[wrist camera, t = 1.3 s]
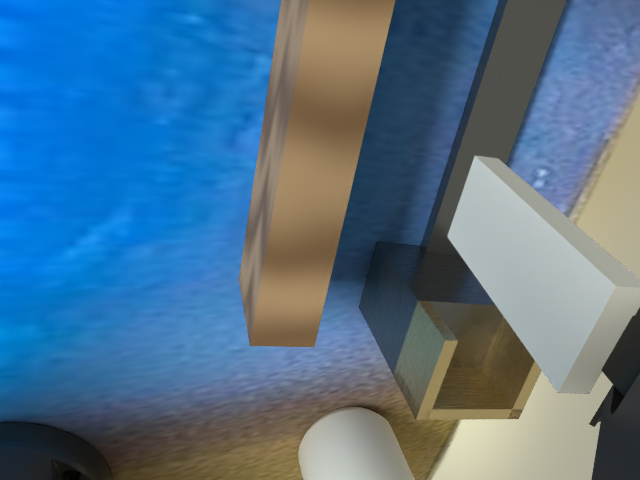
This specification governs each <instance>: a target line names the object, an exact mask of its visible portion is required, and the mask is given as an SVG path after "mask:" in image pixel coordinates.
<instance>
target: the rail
mask: <svg viewBox="0 0 640 480" xmlns="http://www.w3.org/2000/svg"><path fill="white" fill-rule="evenodd" d="M394 5H395V0H281V6H280V12H279V19H278V25H277V32H276V39H275V45H274V52H273V58H272V65H271V71H270V78H269V85H268V91H267V98H266V104H265V111H264V117H263V124H262V131H261V137H260V144H259V150H258V157H257V163H256V170H255V177H254V183H253V190H252V196H251V203H250V209H249V216H248V223H247V229H246V236H245V242H244V249H243V255H242V262H241V269H240V275H239V283H240V289H241V295H242V301H243V307H244V313H245V319H246V325H247V331H248V337H249V343H250V346H287V347H314V346H315V342H316V338H317V333H318V329H319V325H320V320H321V316H322V312H323V308H324V303H325V299H326V295H327V291H328V286H329V282H330V278H331V274H332V269H333V265H334V261H335V256H336V252H337V248H338V244H339V239H340V235H341V231H342V227H343V222H344V218H345V214H346V210H347V205H348V201H349V197H350V192H351V188H352V184H353V180H354V175H355V171H356V167H357V163H358V158H359V154H360V150H361V145H362V141H363V137H364V133H365V128H366V124H367V120H368V116H369V111H370V107H371V103H372V99H373V94H374V90H375V86H376V81H377V77H378V73H379V69H380V64H381V60H382V56H383V52H384V47H385V43H386V39H387V35H388V30H389V26H390V22H391V17H392V13H393V9H394Z"/></svg>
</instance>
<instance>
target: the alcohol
mask: <svg viewBox="0 0 640 480" xmlns="http://www.w3.org/2000/svg"><path fill="white" fill-rule="evenodd" d="M298 458H299V464H300V468H301V473H302V477H303V480H415V479H414V477H413V475H412V473H411V470H410V468H409V466H408V464H407V461H406V459H405V457H404V455H403V452H402V450H401V448H400V446H399V443H398V441H397V439H396V437H395V434H394V432H393V430H392V428H391V426H390V424H389V423H388V421H387V420H386V419H385V418H384V417H382V416H381V415H379V414H377V413H375V412H373V411H371V410H369V409H366V408H362V407H344V408H340V409H336V410H334V411H331V412H328V413H327V414H325V415H323V416H321V417H320V418H319V419H317V420H316V421H315V422H314V423H313V424H312V425H311V426H310V427H309V428H308V430H307V432H306V433H305V435H304V437H303V439H302V441H301V444H300V447H299V451H298Z"/></svg>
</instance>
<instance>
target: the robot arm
mask: <svg viewBox="0 0 640 480" xmlns="http://www.w3.org/2000/svg"><path fill="white" fill-rule="evenodd" d="M447 237H448V238H449V240H450V241H451V243H452V244H453V246H454V247H455V248H456V250H457V251H458V253H459V254H460V255H461V257H462V258H463V260H464V261H465V263H466V264H467V265H468V267H469V268H470V270H471V271H472V272H473V274H474V275H475V277H476V278H477V279H478V281H479V282H480V284H481V285H482V287H483V288H484V289H485V291H486V292H487V294H488V295H489V296H490V298H491V299H492V301H493V302H494V303H495V305H496V306H497V308H498V309H499V311H500V312H501V313H502V315H503V316H504V318H505V319H506V320H507V322H508V323H509V325H510V326H511V327H512V329H513V330H514V332H515V333H516V335H517V336H518V337H519V339H520V340H521V342H522V343H523V344H524V346H525V347H526V349H527V350H528V351H529V353H530V354H531V356H532V357H533V359H534V360H535V361H536V363H537V364H538V366H539V367H540V368H541V370H542V371H543V373H544V374H545V375H546V377H547V378H548V380H549V381H550V383H551V384H552V385H553V387H554V388H555V389H556V391H557V392H558V393H584V394H586V393H587V394H589V393H590V391H591V389H592V388H593V386H594V384H595V383H596V381H597V379H598V377H599V376H600V374H601V372H602V371H603V373H604V374H605V375H606V376H607V377H608V379H609V380H610V381H611V382H612V383H613V386H612V387H611V389H610V391H609V392H608V394H607V396H606V397H605V399H604V400H603V402H602V404H601V405H600V407H599V409H598V410H597V412H596V414H595V415H594V417H593V419H592V420H591V422H590V425H592V426H596V424H597V423H598V422H600V421H601V424H600V430H599V437H598V444H597V449H596V455H595V462H594V468H593V474H592V480H640V279H638V278H637V277H636V276H635V275H634V274H633V273H631V272H630V271H629V270H628V269H627V268H626V267H624V266H623V265H622V264H621V263H620V262H618V261H617V260H616V259H615V258H614V257H612V255H610V254H609V253H608V252H607V251H606V250H605V249H603V248H602V247H601V246H600V245H599V244H598V243H596V242H595V241H594V240H593V239H592V238H591V237H589V236H588V235H587V234H586V233H585V232H584V231H582V230H581V229H580V228H579V227H578V226H577V225H575V224H574V223H573V222H572V221H571V220H570V219H568V218H567V217H566V216H565V215H564V214H563V213H561V212H560V211H559V210H558V209H557V208H556V207H554V206H553V205H552V204H551V203H550V202H549V201H547V200H546V199H545V198H544V197H543V196H542V195H540V194H539V193H538V192H537V191H536V190H535V189H533V188H532V187H531V186H530V185H529V184H528V183H526V182H525V181H524V180H523V179H522V178H521V177H519V176H518V175H517V174H516V173H515V172H514V171H512V170H511V169H510V168H509V167H508V166H507V165H505V164H504V163H503V162H502V161H501V160H499V159H498V158H491V157H483V156H474V159H473V162H472V165H471V168H470V171H469V174H468V177H467V180H466V183H465V186H464V189H463V192H462V195H461V197H460V200H459V203H458V206H457V209H456V212H455V215H454V218H453V221H452V224H451V227H450V230H449V233H448V236H447ZM0 480H113V478H112V474H111V471H110V469H109V466H108V465H107V463H106V461H105V460H104V459H103V457H102V456H101V455H100V454H99V453H98V452H97V451H96V450H95V449H94V448H93V447H91V446H90V445H89V444H87V443H86V442H84V441H83V440H81V439H79V438H77V437H75V436H73V435H71V434H69V433H66V432H64V431H61V430H58V429H55V428H51V427H47V426H42V425H36V424H28V423H0Z"/></svg>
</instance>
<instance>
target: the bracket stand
mask: <svg viewBox="0 0 640 480" xmlns="http://www.w3.org/2000/svg"><path fill="white" fill-rule="evenodd" d="M565 3H566V0H499V2H498V5H497V8H496V12H495V15H494V18H493V21H492V24H491V27H490V30H489V34H488V37H487V40H486V43H485V46H484V49H483V52H482V55H481V59H480V62H479V65H478V68H477V71H476V74H475V77H474V81H473V84H472V87H471V90H470V93H469V96H468V99H467V102H466V106H465V109H464V112H463V115H462V118H461V121H460V124H459V127H458V131H457V134H456V137H455V140H454V143H453V146H452V149H451V153H450V156H449V159H448V162H447V165H446V168H445V171H444V174H443V178H442V181H441V184H440V187H439V190H438V193H437V196H436V200H435V203H434V206H433V209H432V212H431V215H430V218H429V221H428V225H427V228H426V231H425V234H424V237H423V240H422V243H421V246H414V245H403V244H393V243H382V242H377V245H376V248H375V252H374V255H373V259H372V262H371V266H370V269H369V273H368V277H367V280H366V284H365V287H364V291H363V294H362V298H361V302H360V305H359V308H360V310H361V312H362V314H363V316H364V318H365V320H366V322H367V324H368V326H369V328H370V330H371V332H372V334H373V336H374V338H375V340H376V342H377V344H378V346H379V348H380V350H381V352H382V354H383V356H384V358H385V360H386V362H387V364H388V366H389V368H390V370H391V372H392V374H393V375H394V377H395V379H396V381H397V383H398V385H399V387H400V389H401V391H402V393H403V395H404V397H405V399H406V401H407V403H408V405H409V407H410V409H411V411H412V413H413V415H414V417H415V419H416V420H447V419H519V417H520V415H521V413H522V410H523V409H524V406H525V404H526V402H527V400H528V398H529V396H530V394H531V392H532V390H533V388H534V385H535V383H536V381H537V379H538V377H539V375H540V373H541V371H542V370H541V368H540V367H539V366H538V364H537V363H536V361H535V360H534V359H533V357H532V356H531V354H530V353H529V351H528V350H527V349H526V347H525V346H524V344H523V343H522V342H521V340H520V339H519V337H518V336H517V335H516V333H515V332H514V330H513V329H512V327H511V326H510V325H509V323H508V322H507V320H506V319H505V318H504V316H503V315H502V313H501V312H500V311H499V309H498V308H497V306H496V305H495V303H494V302H493V301H492V299H491V298H490V296H489V295H488V294H487V292H486V291H485V289H484V288H483V287H482V285H481V284H480V282H479V281H478V279H477V278H476V277H475V275H474V274H473V272H472V271H471V270H470V268H469V267H468V265H467V264H466V263H465V261H464V260H463V258H462V257H461V255H460V254H459V253H458V251H457V250H456V248H455V247H454V246H453V244H452V243H451V241H450V240H449V238H448V237H447V236H448V233H449V230H450V227H451V224H452V221H453V218H454V215H455V212H456V209H457V206H458V203H459V200H460V197H461V195H462V192H463V189H464V186H465V183H466V180H467V177H468V174H469V171H470V168H471V165H472V162H473V159H474V156H483V157H491V158H498V159H499V160H501V161H502V162H503V163H504V164H505V165H506V163H507V161H508V158H509V155H510V153H511V150H512V147H513V144H514V142H515V139H516V136H517V134H518V131H519V128H520V125H521V123H522V120H523V117H524V114H525V112H526V109H527V106H528V104H529V101H530V98H531V95H532V93H533V90H534V87H535V85H536V82H537V79H538V76H539V74H540V71H541V68H542V65H543V63H544V60H545V57H546V55H547V52H548V49H549V46H550V44H551V41H552V38H553V36H554V33H555V30H556V27H557V25H558V22H559V19H560V16H561V14H562V11H563V8H564V6H565Z"/></svg>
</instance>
